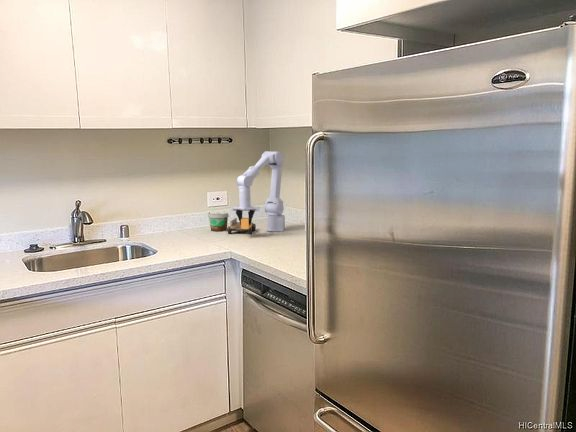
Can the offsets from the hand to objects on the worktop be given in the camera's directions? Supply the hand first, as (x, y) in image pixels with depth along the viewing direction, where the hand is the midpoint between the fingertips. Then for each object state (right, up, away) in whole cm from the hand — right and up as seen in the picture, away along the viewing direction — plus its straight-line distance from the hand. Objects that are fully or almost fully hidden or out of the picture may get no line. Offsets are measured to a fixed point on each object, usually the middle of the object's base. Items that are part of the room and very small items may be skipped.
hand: (245, 224), depth 240 cm
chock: (0, -2, +2) cm, 3 cm away
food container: (-18, -4, +19) cm, 27 cm away
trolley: (-3, -5, +15) cm, 16 cm away
